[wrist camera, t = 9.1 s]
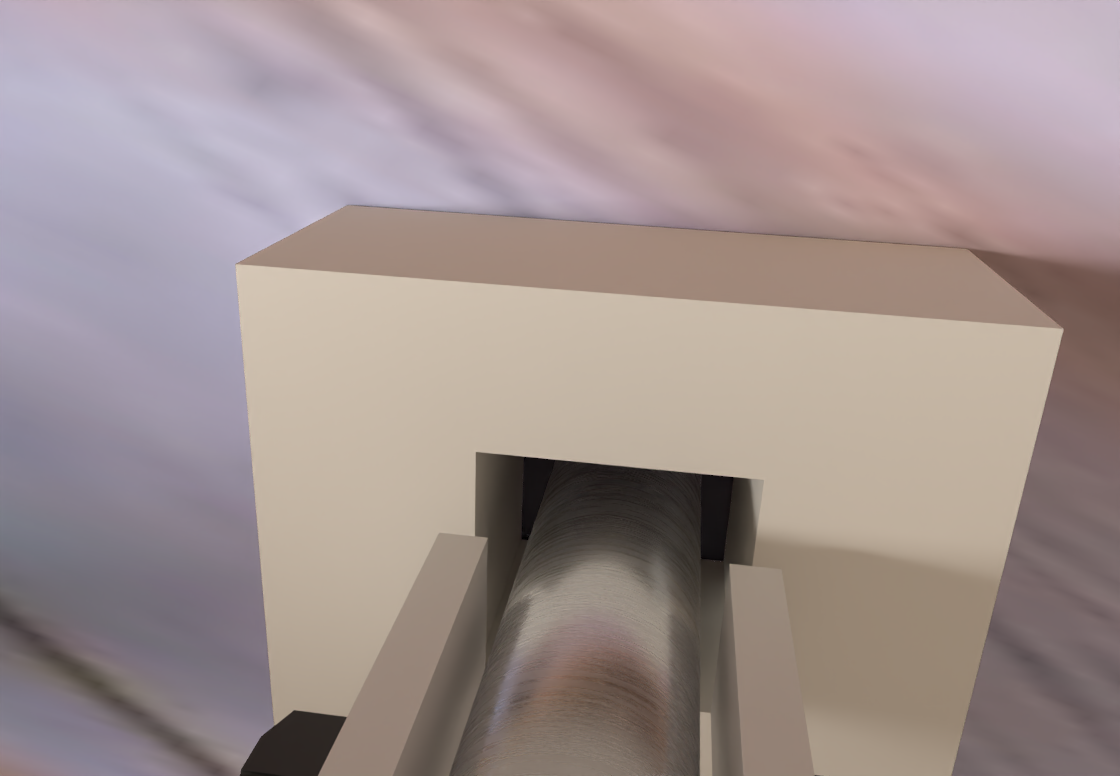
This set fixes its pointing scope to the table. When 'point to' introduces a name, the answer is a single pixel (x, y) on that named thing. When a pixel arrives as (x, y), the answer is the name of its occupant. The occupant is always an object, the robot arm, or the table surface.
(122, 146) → the table surface
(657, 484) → the peg
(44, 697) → the table surface
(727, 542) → the hole block
